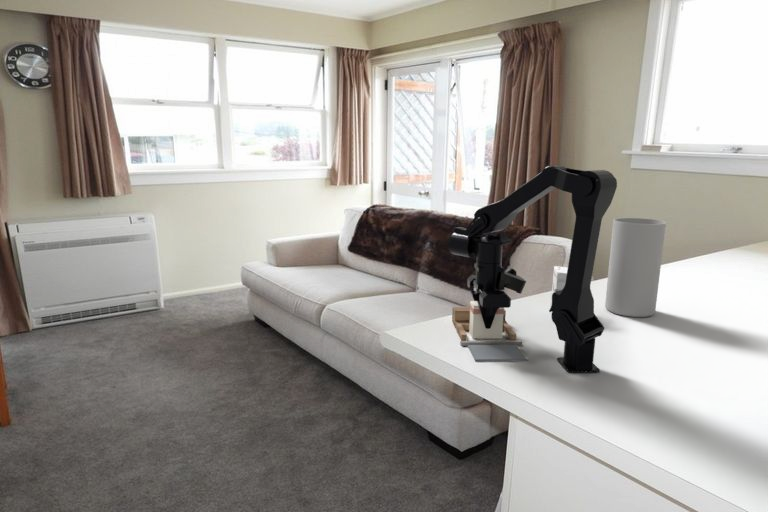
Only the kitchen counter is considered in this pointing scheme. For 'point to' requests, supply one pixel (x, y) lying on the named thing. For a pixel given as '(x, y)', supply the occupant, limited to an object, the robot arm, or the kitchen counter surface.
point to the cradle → (463, 321)
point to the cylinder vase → (634, 266)
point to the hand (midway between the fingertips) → (485, 325)
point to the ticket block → (478, 326)
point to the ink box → (559, 279)
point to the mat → (496, 353)
